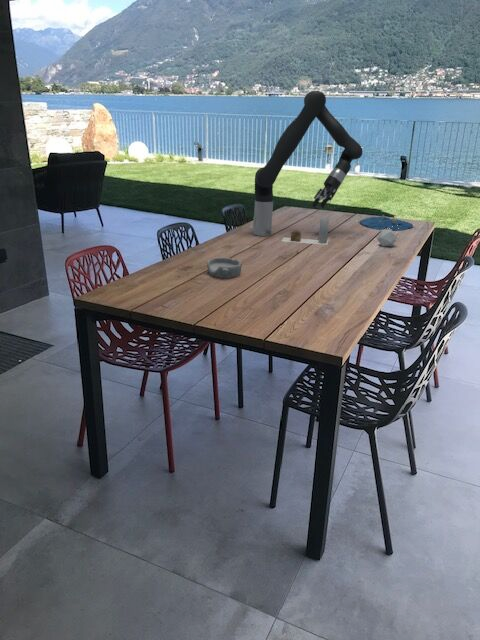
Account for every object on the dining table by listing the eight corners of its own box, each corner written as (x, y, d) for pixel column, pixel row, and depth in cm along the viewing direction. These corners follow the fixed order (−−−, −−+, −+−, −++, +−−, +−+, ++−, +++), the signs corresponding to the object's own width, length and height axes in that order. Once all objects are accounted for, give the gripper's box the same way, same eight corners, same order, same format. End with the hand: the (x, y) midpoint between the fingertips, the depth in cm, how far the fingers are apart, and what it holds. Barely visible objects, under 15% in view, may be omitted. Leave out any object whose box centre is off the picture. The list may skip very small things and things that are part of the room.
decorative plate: (419, 234, 292) (421, 225, 290) (365, 232, 292) (366, 222, 290) (405, 221, 319) (406, 212, 317) (355, 218, 319) (356, 210, 317)
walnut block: (290, 241, 257) (291, 231, 256) (291, 238, 261) (292, 229, 260) (299, 241, 256) (300, 232, 255) (300, 239, 261) (301, 230, 259)
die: (393, 250, 255) (402, 232, 256) (378, 241, 254) (388, 223, 254) (385, 251, 263) (394, 235, 264) (371, 243, 262) (380, 226, 262)
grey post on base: (281, 243, 257) (282, 218, 252) (283, 239, 264) (284, 215, 259) (327, 246, 253) (329, 221, 248) (328, 242, 260) (330, 218, 256)
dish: (229, 281, 203) (229, 269, 201) (199, 274, 209) (199, 262, 207) (248, 272, 214) (249, 260, 212) (220, 266, 221) (220, 254, 219)
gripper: (322, 175, 269) (305, 202, 269) (337, 174, 256) (318, 202, 256) (332, 185, 272) (315, 211, 272) (347, 183, 259) (329, 211, 259)
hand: (317, 206), depth 264 cm, fingers open, 8 cm apart
